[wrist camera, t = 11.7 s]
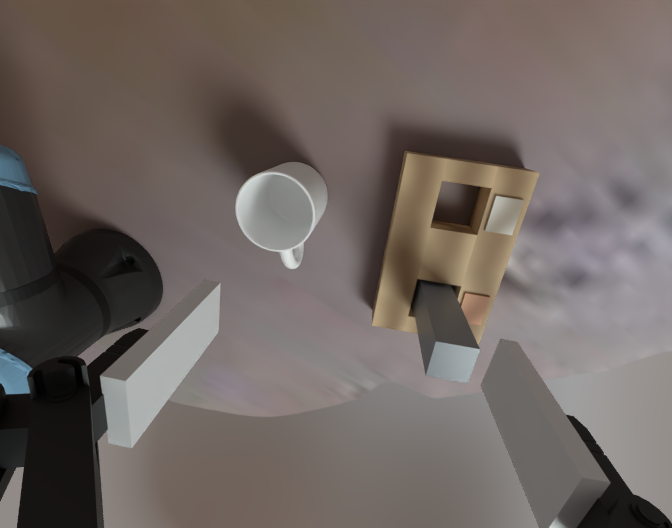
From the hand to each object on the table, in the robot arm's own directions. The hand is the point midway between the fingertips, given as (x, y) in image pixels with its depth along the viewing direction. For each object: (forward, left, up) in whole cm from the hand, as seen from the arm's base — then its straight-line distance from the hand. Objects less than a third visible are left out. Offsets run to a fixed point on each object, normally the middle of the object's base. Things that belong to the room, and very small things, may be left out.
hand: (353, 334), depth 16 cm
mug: (-9, -2, -30) cm, 31 cm away
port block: (+10, -4, -30) cm, 32 cm away
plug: (+10, -10, -30) cm, 33 cm away
